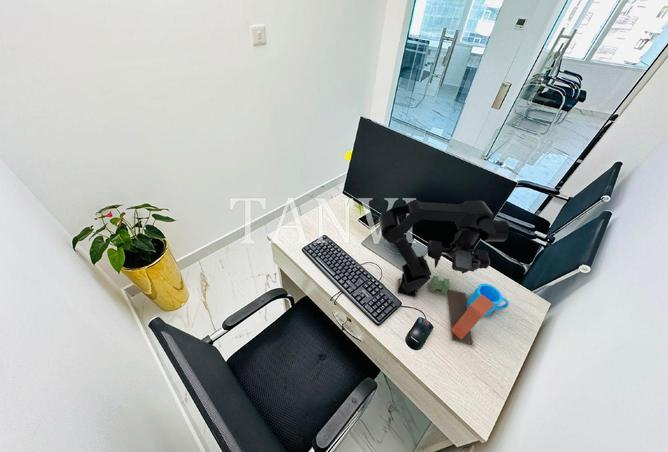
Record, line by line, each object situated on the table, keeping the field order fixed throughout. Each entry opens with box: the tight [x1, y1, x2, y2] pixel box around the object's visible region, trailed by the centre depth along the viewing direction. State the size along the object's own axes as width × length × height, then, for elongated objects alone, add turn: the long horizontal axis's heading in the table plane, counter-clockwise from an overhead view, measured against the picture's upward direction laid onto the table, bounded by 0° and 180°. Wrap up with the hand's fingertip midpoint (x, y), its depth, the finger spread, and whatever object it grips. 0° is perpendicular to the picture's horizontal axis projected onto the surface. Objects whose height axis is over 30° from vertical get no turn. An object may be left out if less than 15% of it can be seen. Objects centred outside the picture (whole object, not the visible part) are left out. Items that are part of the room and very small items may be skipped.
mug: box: [467, 283, 510, 317], centre depth 90 cm, size 12×8×8 cm
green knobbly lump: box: [429, 275, 451, 295], centre depth 96 cm, size 4×6×5 cm, turn 75°
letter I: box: [450, 294, 494, 340], centre depth 79 cm, size 4×6×16 cm, turn 127°
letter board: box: [447, 289, 473, 346], centre depth 89 cm, size 6×20×1 cm, turn 165°
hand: (448, 269), depth 89 cm, fingers open, 9 cm apart
